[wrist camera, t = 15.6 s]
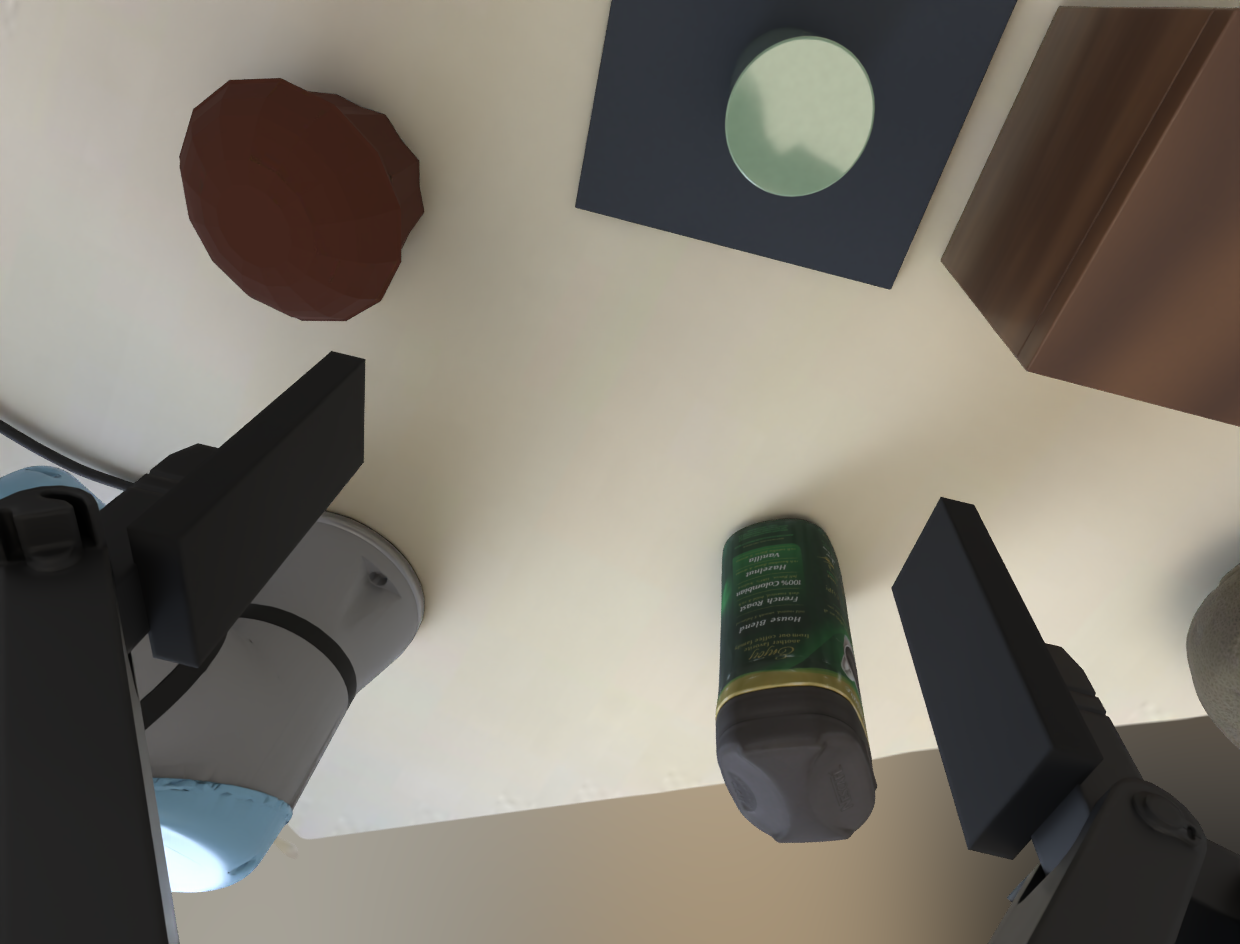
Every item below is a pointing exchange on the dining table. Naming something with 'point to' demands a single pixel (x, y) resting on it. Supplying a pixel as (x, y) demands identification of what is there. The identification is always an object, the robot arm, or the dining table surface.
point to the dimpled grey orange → (1218, 655)
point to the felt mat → (696, 108)
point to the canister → (797, 112)
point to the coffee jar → (790, 687)
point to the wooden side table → (1118, 209)
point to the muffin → (299, 196)
